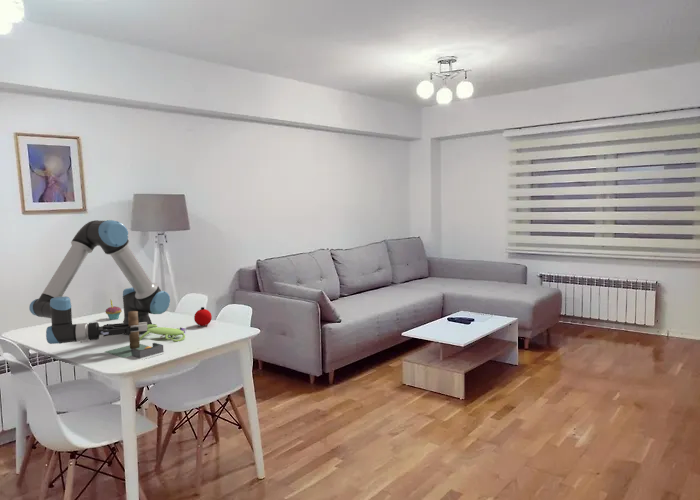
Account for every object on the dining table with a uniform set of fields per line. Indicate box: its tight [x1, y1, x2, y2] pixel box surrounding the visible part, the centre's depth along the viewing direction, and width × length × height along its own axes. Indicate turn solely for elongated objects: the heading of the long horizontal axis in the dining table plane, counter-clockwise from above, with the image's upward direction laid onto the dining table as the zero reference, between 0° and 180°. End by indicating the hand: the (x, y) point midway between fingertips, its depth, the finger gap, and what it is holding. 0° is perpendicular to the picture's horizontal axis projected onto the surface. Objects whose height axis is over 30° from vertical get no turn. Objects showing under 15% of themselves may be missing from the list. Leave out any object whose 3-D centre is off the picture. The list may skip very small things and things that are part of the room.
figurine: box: [139, 323, 186, 343], centre depth 249 cm, size 18×27×6 cm
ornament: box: [193, 306, 213, 327], centre depth 270 cm, size 9×9×10 cm
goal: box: [131, 342, 164, 359], centre depth 218 cm, size 6×11×4 cm, turn 144°
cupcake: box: [105, 299, 123, 321], centre depth 291 cm, size 9×8×12 cm
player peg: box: [128, 311, 141, 349], centre depth 223 cm, size 4×4×16 cm
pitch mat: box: [104, 343, 149, 359], centre depth 224 cm, size 16×16×1 cm
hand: (146, 326), depth 225 cm, fingers closed on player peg, 4 cm apart
